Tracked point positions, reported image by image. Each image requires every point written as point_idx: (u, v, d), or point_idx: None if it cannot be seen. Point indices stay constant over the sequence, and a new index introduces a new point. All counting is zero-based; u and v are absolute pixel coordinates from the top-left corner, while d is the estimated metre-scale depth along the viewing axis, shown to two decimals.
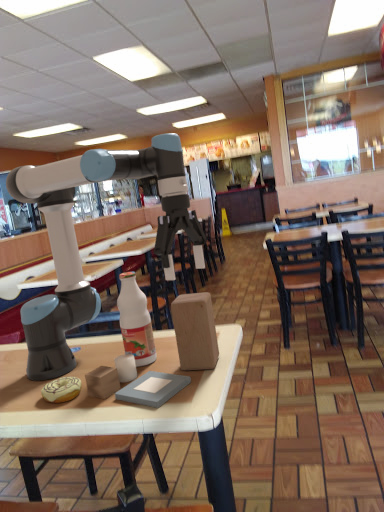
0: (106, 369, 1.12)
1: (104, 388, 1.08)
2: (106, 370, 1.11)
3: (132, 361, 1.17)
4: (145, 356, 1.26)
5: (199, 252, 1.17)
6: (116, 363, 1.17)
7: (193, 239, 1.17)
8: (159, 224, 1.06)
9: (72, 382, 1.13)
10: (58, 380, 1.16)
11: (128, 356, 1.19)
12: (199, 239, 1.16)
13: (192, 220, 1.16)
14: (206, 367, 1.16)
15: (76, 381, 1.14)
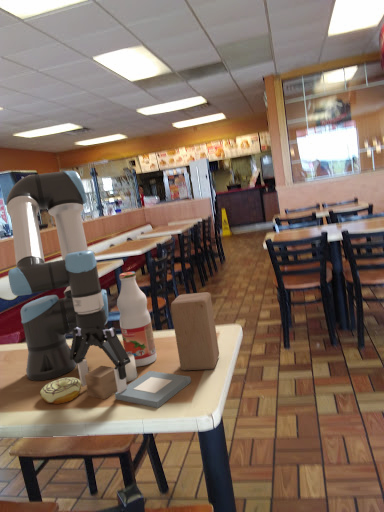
0: (106, 369, 1.12)
1: (104, 388, 1.08)
2: (106, 370, 1.11)
3: (132, 361, 1.17)
4: (145, 356, 1.26)
5: None
6: None
7: None
8: None
9: (71, 383, 1.13)
10: (58, 381, 1.15)
11: (128, 356, 1.19)
12: (113, 361, 1.06)
13: None
14: (206, 367, 1.16)
15: (75, 382, 1.14)
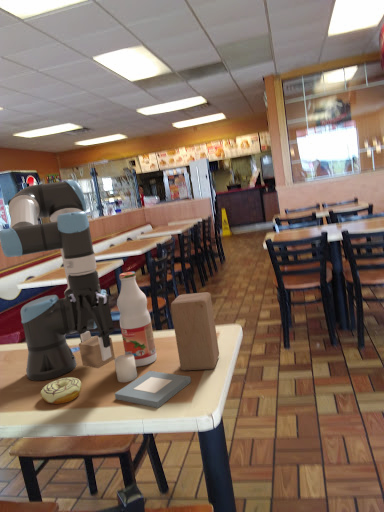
0: None
1: (98, 357, 1.08)
2: None
3: (132, 361, 1.17)
4: (145, 356, 1.26)
5: None
6: (116, 363, 1.17)
7: None
8: None
9: (72, 383, 1.13)
10: (58, 381, 1.15)
11: (128, 356, 1.19)
12: (98, 329, 1.07)
13: None
14: (206, 367, 1.16)
15: (76, 382, 1.13)
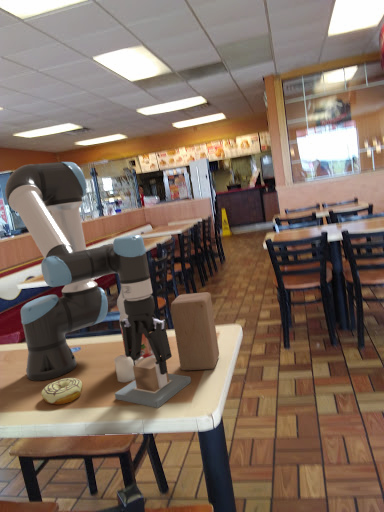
0: (154, 361, 1.08)
1: (154, 380, 1.04)
2: (154, 362, 1.07)
3: (132, 361, 1.17)
4: (145, 356, 1.26)
5: None
6: (116, 363, 1.17)
7: None
8: None
9: (73, 384, 1.12)
10: (59, 381, 1.15)
11: None
12: (155, 355, 1.04)
13: None
14: (206, 367, 1.16)
15: (77, 383, 1.13)
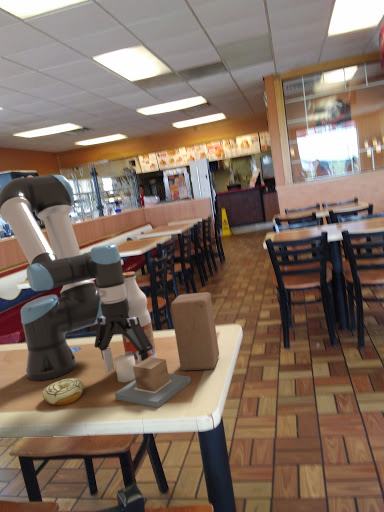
0: (154, 361, 1.08)
1: (154, 380, 1.04)
2: (154, 362, 1.07)
3: (132, 361, 1.17)
4: None
5: None
6: (116, 363, 1.17)
7: None
8: None
9: (74, 384, 1.12)
10: (60, 382, 1.14)
11: (128, 356, 1.19)
12: (137, 348, 1.13)
13: None
14: (206, 367, 1.16)
15: (78, 383, 1.12)
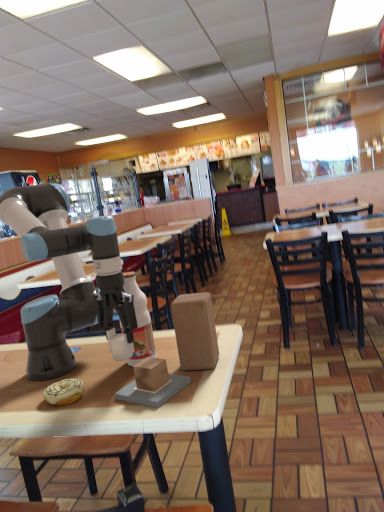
0: (154, 361, 1.08)
1: (154, 380, 1.04)
2: (154, 362, 1.07)
3: None
4: (145, 356, 1.26)
5: None
6: (111, 342, 1.16)
7: None
8: None
9: (74, 384, 1.11)
10: (60, 382, 1.14)
11: None
12: (123, 325, 1.15)
13: None
14: (206, 367, 1.16)
15: (78, 383, 1.12)
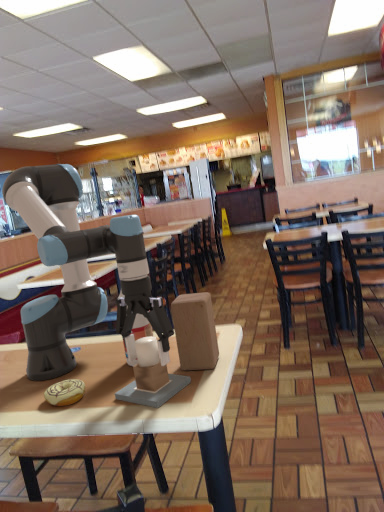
0: None
1: (154, 380, 1.04)
2: None
3: (155, 343, 1.06)
4: None
5: None
6: (137, 346, 1.05)
7: None
8: None
9: (75, 385, 1.11)
10: (62, 383, 1.14)
11: (150, 338, 1.07)
12: (157, 333, 1.02)
13: None
14: (206, 367, 1.16)
15: (79, 384, 1.12)
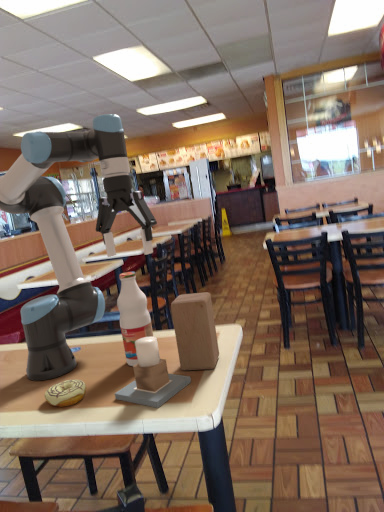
0: None
1: (154, 380, 1.04)
2: None
3: (155, 344, 1.05)
4: None
5: None
6: (137, 346, 1.05)
7: None
8: None
9: (76, 386, 1.10)
10: (62, 383, 1.13)
11: (150, 339, 1.07)
12: (140, 223, 1.08)
13: None
14: (206, 367, 1.16)
15: (80, 385, 1.11)
